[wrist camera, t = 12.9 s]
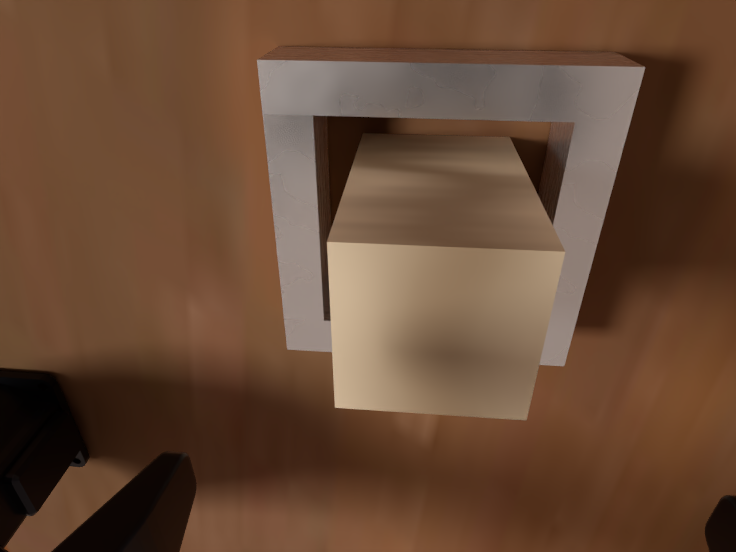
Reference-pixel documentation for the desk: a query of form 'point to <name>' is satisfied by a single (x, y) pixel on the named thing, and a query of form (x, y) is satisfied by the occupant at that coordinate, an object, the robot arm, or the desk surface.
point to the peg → (440, 278)
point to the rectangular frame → (441, 101)
